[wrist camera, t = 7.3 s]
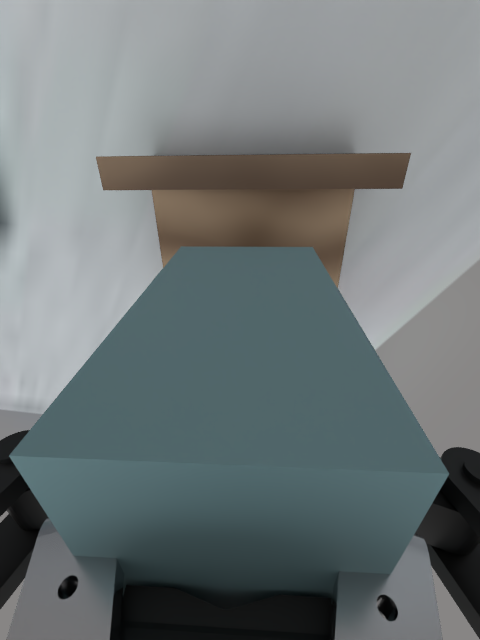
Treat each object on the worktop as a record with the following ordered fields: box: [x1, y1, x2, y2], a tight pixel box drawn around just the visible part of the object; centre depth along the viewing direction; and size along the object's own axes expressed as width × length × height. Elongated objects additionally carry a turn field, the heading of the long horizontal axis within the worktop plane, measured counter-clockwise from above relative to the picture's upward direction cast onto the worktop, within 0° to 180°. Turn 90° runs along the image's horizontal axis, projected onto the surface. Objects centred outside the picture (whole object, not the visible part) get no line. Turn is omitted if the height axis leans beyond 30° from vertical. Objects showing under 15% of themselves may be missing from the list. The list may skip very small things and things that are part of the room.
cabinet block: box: [9, 247, 449, 609], centre depth 8 cm, size 8×4×8 cm, turn 1°
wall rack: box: [96, 153, 411, 288], centre depth 21 cm, size 14×15×9 cm
